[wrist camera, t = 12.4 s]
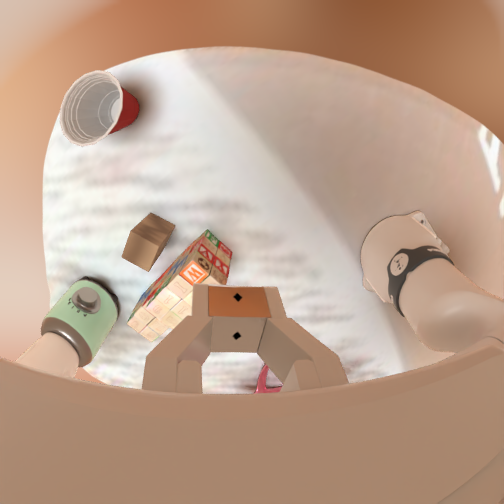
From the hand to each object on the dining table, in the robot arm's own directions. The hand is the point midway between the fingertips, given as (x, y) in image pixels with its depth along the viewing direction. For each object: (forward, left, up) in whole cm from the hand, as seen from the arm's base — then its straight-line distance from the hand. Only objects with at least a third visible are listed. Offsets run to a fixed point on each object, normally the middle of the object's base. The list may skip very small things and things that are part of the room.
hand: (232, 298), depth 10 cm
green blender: (+17, +42, -36) cm, 58 cm away
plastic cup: (+24, +1, -36) cm, 43 cm away
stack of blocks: (+1, +24, -36) cm, 44 cm away
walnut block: (+9, +18, -36) cm, 41 cm away
